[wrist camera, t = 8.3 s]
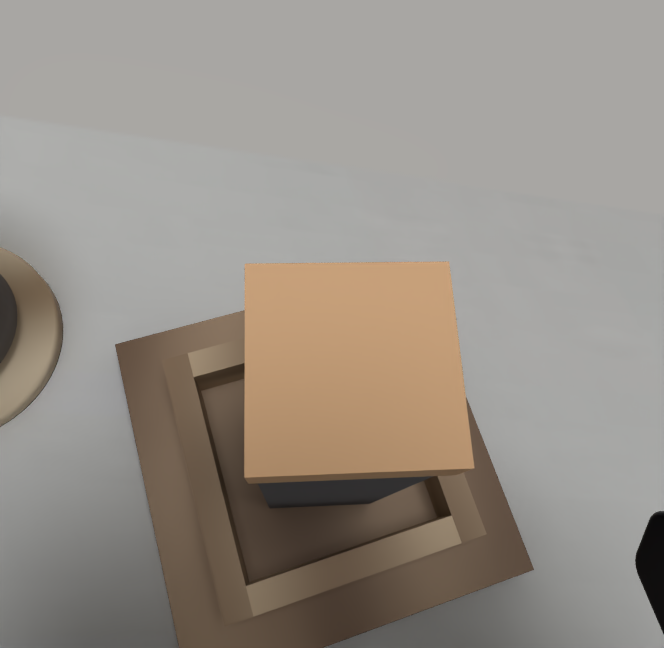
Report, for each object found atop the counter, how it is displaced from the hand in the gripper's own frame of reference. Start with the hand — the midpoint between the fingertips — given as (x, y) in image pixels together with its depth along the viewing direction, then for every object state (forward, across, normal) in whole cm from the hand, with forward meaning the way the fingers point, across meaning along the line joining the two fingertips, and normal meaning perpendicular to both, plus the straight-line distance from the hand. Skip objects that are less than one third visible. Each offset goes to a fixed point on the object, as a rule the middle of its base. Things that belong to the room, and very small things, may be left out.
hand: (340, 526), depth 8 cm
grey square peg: (+10, -1, +6) cm, 12 cm away
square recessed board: (+11, -1, +6) cm, 12 cm away
